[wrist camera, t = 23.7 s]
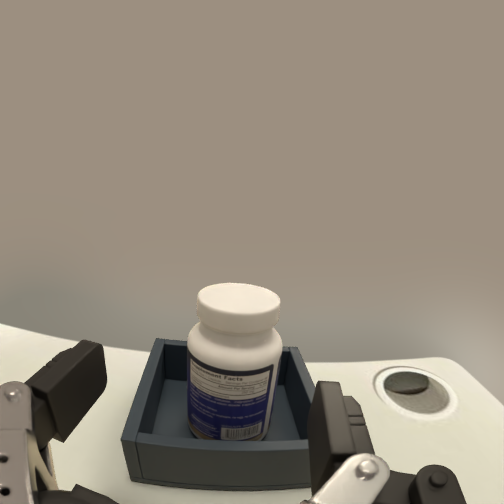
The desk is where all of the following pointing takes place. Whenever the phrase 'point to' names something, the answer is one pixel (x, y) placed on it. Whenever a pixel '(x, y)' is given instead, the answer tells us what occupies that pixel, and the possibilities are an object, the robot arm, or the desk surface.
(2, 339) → the desk surface
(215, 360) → the pill bottle
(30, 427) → the robot arm
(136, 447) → the bin
